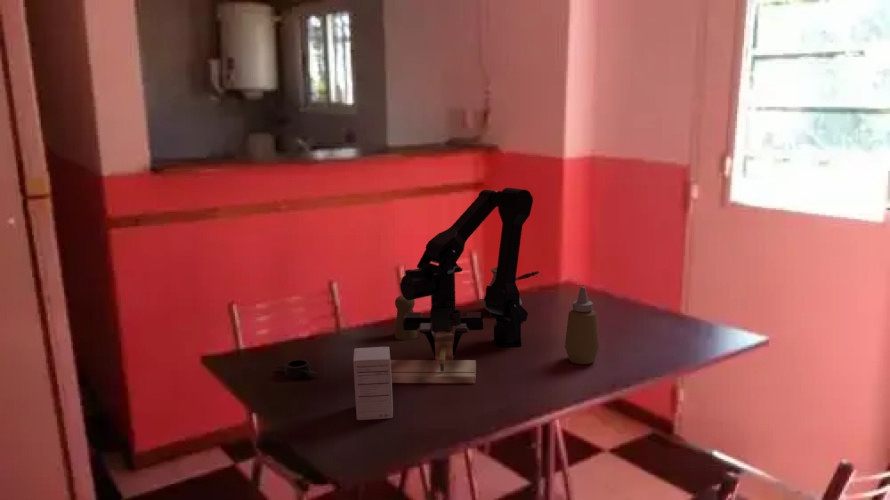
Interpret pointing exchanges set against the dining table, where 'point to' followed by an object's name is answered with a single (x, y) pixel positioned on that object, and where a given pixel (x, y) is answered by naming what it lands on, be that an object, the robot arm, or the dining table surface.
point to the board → (433, 371)
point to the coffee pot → (515, 280)
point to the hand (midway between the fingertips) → (444, 355)
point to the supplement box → (373, 383)
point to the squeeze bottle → (582, 331)
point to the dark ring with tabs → (297, 369)
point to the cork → (402, 309)
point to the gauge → (443, 348)
